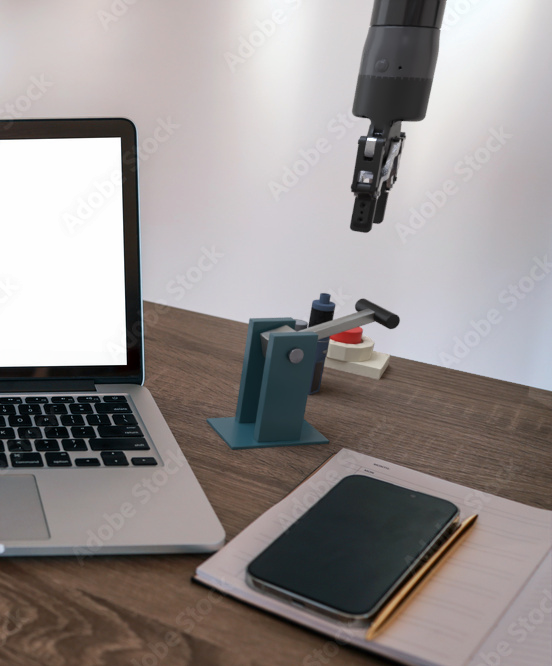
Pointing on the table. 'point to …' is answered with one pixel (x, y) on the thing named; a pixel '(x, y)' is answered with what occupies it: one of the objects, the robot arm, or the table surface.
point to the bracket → (272, 390)
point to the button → (349, 336)
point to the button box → (357, 358)
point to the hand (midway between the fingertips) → (366, 226)
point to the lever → (343, 322)
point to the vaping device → (319, 314)
